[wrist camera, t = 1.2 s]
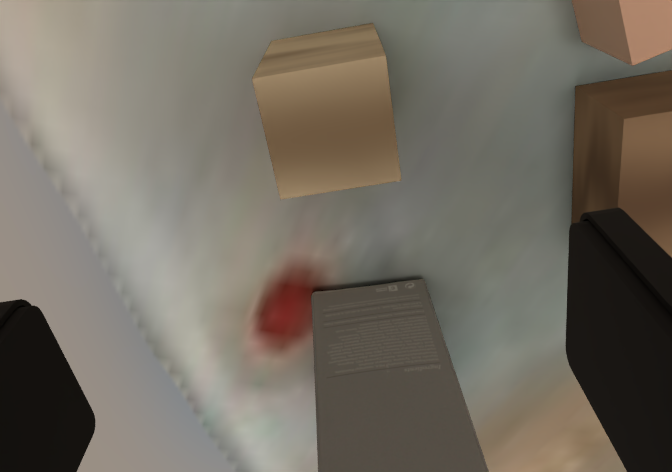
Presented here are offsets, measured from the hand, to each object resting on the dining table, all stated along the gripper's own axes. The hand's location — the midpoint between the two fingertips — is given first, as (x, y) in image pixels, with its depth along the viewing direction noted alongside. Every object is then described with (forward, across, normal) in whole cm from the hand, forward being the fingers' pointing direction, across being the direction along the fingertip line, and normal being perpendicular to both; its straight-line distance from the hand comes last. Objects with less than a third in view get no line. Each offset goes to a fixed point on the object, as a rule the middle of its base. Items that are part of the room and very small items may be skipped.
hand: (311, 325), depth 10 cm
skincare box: (+18, -1, +16) cm, 24 cm away
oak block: (+18, 0, 0) cm, 18 cm away
